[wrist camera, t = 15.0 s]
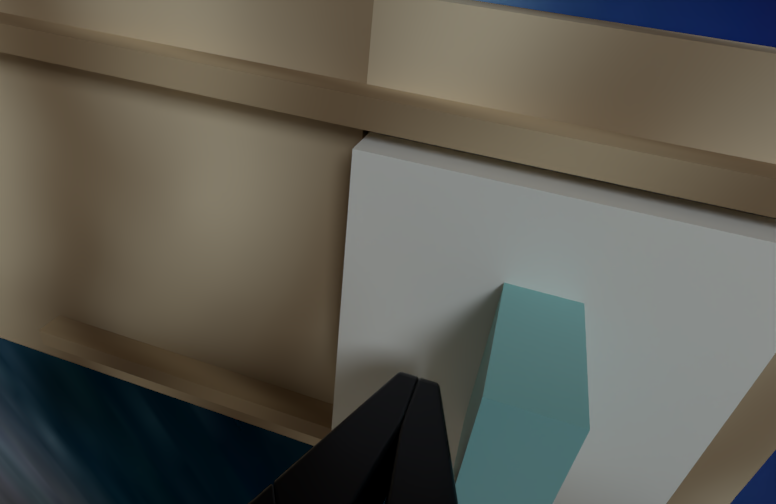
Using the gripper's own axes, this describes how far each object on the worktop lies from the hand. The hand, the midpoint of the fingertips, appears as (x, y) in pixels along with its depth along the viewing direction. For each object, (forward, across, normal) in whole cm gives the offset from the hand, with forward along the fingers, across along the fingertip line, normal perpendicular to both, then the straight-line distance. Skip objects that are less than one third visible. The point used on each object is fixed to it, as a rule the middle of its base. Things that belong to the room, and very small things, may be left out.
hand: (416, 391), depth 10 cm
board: (+3, +6, 0) cm, 7 cm away
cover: (+3, -2, 0) cm, 3 cm away
